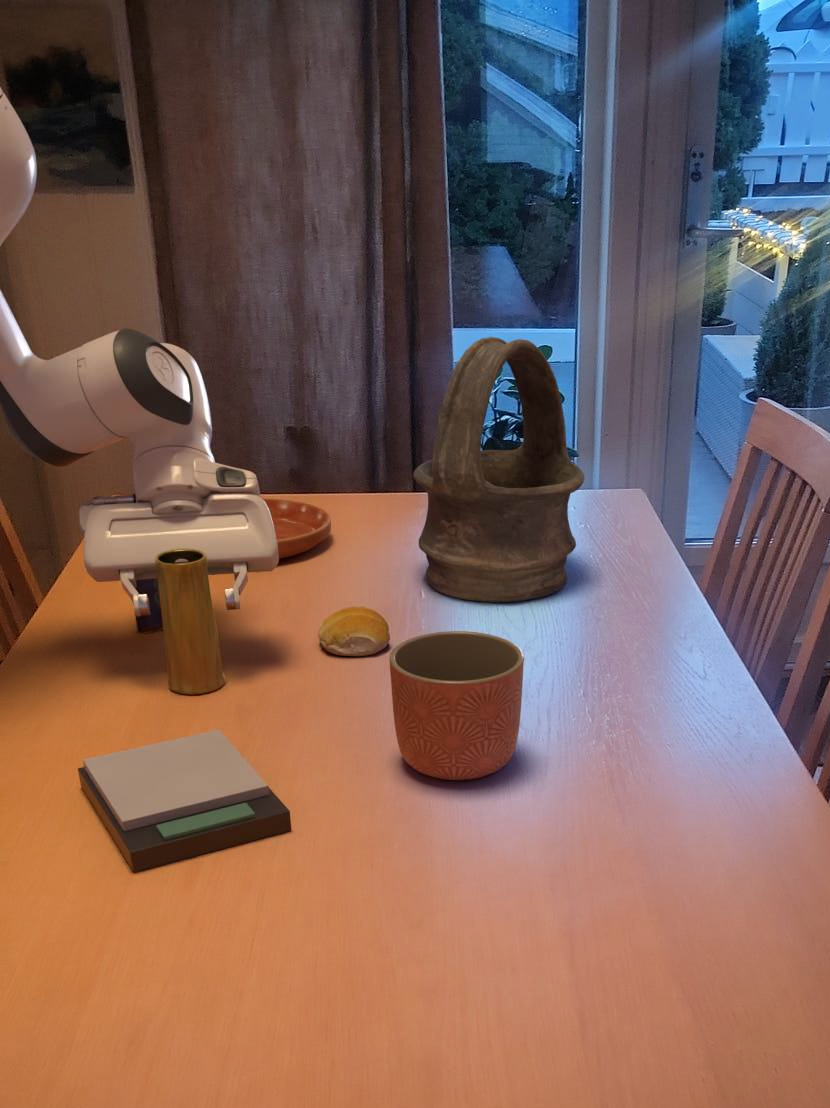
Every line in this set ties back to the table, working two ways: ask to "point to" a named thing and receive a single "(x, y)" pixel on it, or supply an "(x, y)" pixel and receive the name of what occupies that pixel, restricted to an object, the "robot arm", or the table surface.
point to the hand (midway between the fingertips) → (188, 610)
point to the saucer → (297, 525)
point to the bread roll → (354, 632)
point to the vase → (188, 623)
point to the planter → (457, 702)
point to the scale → (181, 799)
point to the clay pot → (499, 484)
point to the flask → (155, 617)
